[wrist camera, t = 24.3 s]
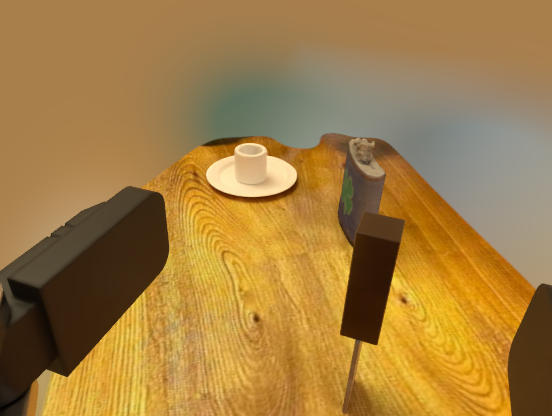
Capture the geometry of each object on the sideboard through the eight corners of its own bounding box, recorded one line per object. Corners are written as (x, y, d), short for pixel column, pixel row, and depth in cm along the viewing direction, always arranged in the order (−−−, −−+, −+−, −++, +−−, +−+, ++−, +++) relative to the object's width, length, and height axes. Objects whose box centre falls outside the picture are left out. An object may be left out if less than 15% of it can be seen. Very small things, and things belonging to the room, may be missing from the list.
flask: (375, 250, 49) (392, 159, 43) (348, 251, 48) (361, 159, 43) (356, 205, 57) (368, 122, 51) (333, 205, 56) (342, 122, 51)
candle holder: (269, 153, 68) (270, 125, 66) (314, 188, 60) (316, 158, 57) (193, 169, 63) (191, 140, 61) (230, 210, 54) (229, 178, 52)
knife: (327, 407, 33) (354, 235, 25) (337, 374, 35) (364, 208, 27) (361, 418, 32) (399, 245, 24) (368, 384, 34) (406, 216, 27)
